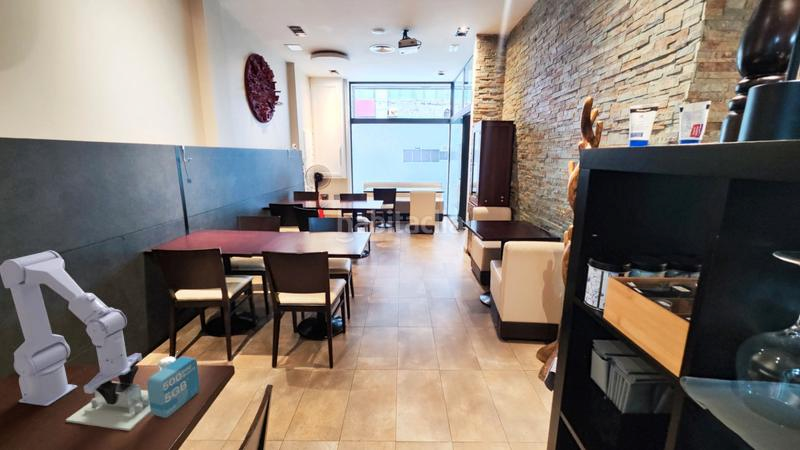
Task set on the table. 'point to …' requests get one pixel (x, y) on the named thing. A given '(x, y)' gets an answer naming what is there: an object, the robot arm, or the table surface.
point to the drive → (121, 398)
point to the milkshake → (166, 362)
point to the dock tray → (112, 415)
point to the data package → (173, 386)
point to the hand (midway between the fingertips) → (119, 397)
